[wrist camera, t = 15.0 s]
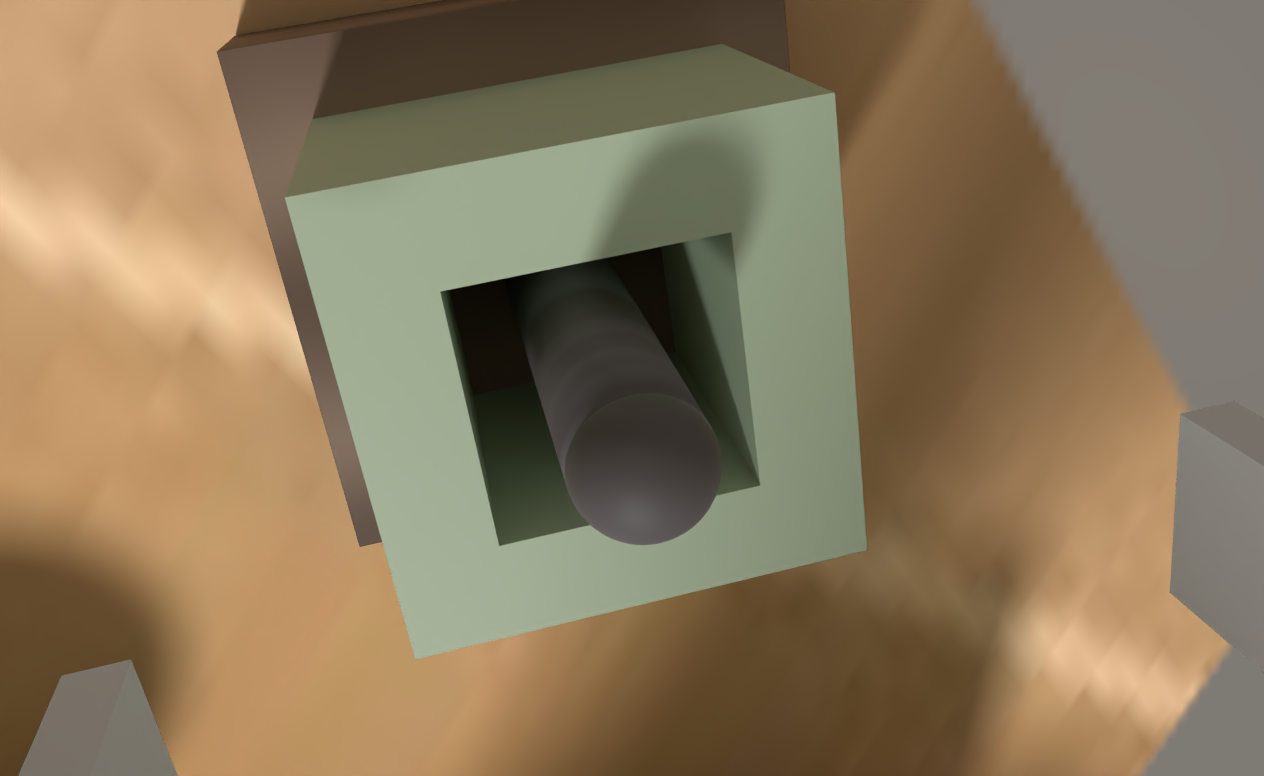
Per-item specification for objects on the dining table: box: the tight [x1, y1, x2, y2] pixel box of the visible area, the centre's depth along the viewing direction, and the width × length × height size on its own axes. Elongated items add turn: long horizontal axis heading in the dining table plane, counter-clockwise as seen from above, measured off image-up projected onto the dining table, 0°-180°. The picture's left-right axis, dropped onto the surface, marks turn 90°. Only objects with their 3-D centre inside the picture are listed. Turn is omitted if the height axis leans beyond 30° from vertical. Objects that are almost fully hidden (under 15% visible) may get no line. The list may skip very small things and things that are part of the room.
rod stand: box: [217, 0, 790, 547], centre depth 23 cm, size 12×12×14 cm
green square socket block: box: [285, 44, 867, 659], centre depth 23 cm, size 9×9×7 cm
